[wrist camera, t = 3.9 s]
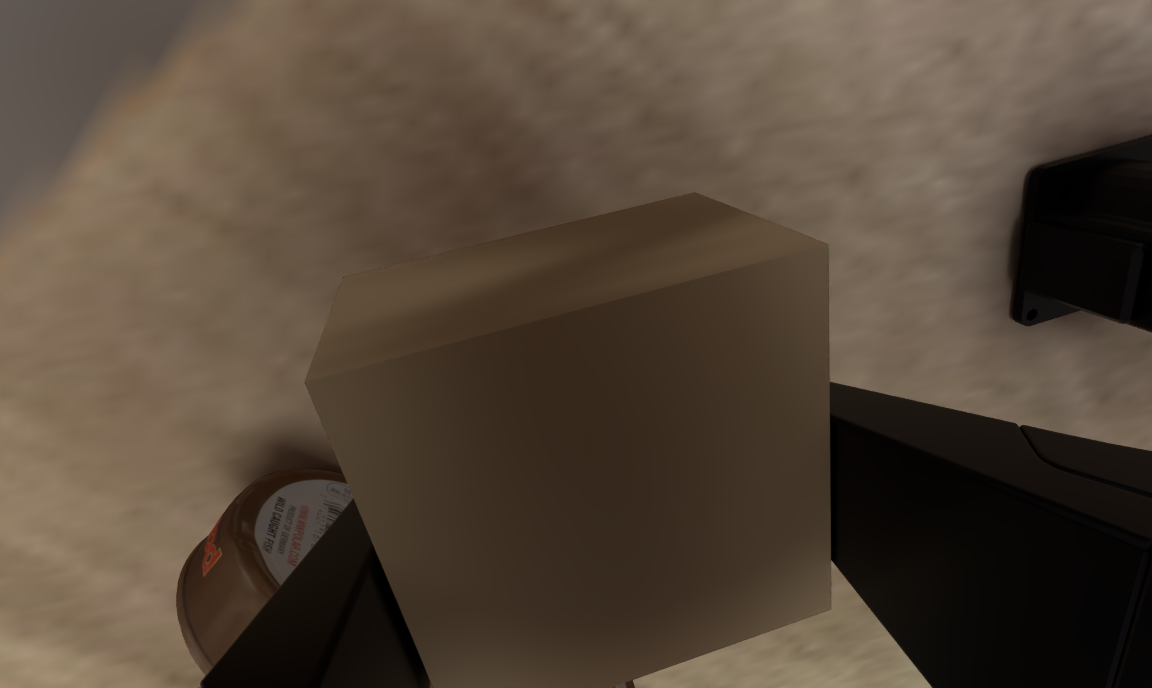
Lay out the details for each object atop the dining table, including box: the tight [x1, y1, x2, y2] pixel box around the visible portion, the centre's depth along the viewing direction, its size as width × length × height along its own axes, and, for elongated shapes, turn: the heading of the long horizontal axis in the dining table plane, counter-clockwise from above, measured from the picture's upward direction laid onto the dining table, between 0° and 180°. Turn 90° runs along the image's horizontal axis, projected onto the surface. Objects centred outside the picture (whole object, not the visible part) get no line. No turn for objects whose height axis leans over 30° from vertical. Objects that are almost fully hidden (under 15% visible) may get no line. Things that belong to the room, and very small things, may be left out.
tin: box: [176, 468, 635, 688], centre depth 20 cm, size 15×3×8 cm, turn 51°
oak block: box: [305, 192, 831, 688], centre depth 8 cm, size 5×5×3 cm
